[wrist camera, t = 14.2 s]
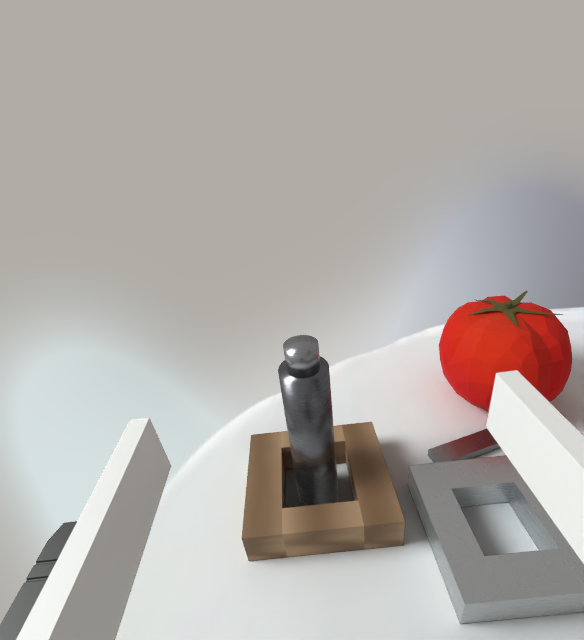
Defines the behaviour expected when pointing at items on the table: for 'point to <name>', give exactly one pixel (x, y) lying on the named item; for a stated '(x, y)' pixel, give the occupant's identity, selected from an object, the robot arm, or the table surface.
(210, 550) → the table surface
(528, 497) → the socket collar
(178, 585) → the table surface
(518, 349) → the tomato
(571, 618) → the table surface
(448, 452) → the bar
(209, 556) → the table surface
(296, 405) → the metal bottle
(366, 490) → the frame
